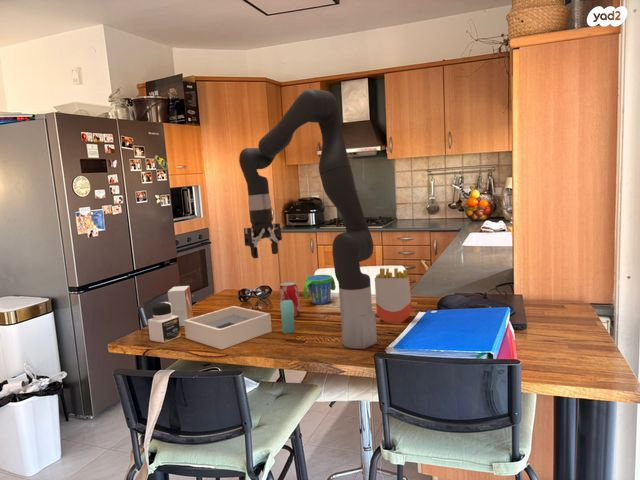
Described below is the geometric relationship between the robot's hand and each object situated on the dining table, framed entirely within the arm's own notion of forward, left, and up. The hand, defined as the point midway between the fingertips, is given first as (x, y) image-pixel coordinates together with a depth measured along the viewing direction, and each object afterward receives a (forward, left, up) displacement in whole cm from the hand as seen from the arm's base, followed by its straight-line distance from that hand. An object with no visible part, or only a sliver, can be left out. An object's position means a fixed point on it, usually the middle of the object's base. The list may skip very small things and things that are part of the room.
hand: (265, 256), depth 169 cm
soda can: (+2, -11, -24) cm, 27 cm away
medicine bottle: (+20, +29, -24) cm, 43 cm away
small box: (+31, +16, -24) cm, 43 cm away
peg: (-11, +2, -24) cm, 26 cm away
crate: (+4, +15, -24) cm, 29 cm away
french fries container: (-34, -25, -24) cm, 49 cm away
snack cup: (+5, -30, -24) cm, 39 cm away
